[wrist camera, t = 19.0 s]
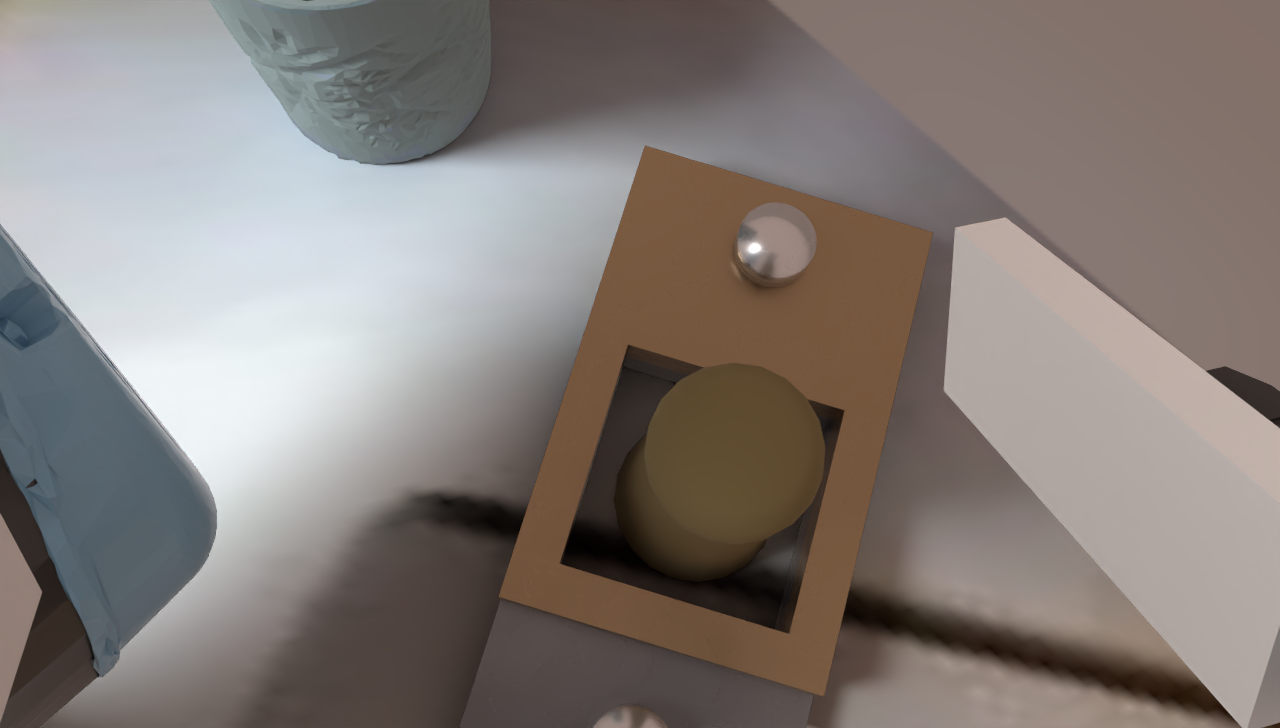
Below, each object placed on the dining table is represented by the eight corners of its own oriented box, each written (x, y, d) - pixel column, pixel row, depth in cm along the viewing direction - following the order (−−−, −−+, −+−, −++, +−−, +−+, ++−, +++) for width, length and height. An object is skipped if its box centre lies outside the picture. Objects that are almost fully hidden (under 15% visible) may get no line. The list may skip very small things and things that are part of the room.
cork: (794, 446, 41) (875, 371, 31) (752, 603, 39) (823, 581, 29) (641, 399, 41) (669, 307, 31) (593, 554, 40) (605, 513, 29)
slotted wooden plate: (761, 870, 37) (786, 895, 33) (447, 774, 37) (433, 787, 33) (908, 261, 43) (944, 219, 39) (639, 179, 44) (647, 130, 40)
